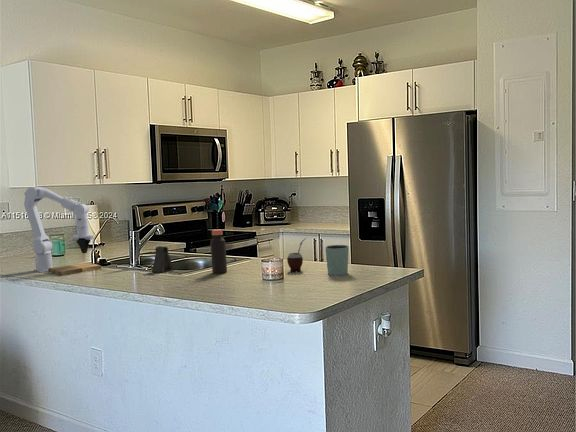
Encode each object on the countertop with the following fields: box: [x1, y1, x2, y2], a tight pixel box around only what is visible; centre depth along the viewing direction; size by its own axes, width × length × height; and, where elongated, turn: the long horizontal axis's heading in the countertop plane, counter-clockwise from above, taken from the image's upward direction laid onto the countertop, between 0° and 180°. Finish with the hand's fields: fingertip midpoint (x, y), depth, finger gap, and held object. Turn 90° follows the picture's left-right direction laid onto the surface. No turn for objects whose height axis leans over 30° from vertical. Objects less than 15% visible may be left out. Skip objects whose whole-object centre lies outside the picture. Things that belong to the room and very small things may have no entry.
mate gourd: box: [287, 237, 307, 273], centre depth 258 cm, size 8×8×15 cm
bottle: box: [210, 228, 228, 275], centre depth 265 cm, size 7×7×20 cm
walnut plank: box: [47, 264, 83, 277], centre depth 289 cm, size 18×10×2 cm, turn 43°
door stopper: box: [151, 245, 175, 274], centre depth 278 cm, size 9×6×12 cm, turn 139°
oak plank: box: [67, 262, 102, 273], centre depth 296 cm, size 18×10×2 cm, turn 43°
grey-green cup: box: [325, 244, 350, 277], centre depth 246 cm, size 10×10×12 cm
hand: (84, 253), depth 296 cm, fingers closed
